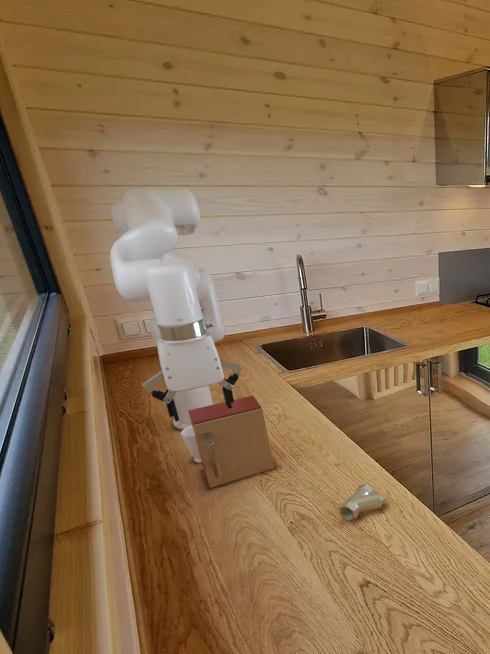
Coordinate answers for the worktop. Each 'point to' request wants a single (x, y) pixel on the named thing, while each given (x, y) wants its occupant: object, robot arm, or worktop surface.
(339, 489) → the worktop surface
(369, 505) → the pipe fitting
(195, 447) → the cup
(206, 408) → the valve cabinet
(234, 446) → the cabinet door
